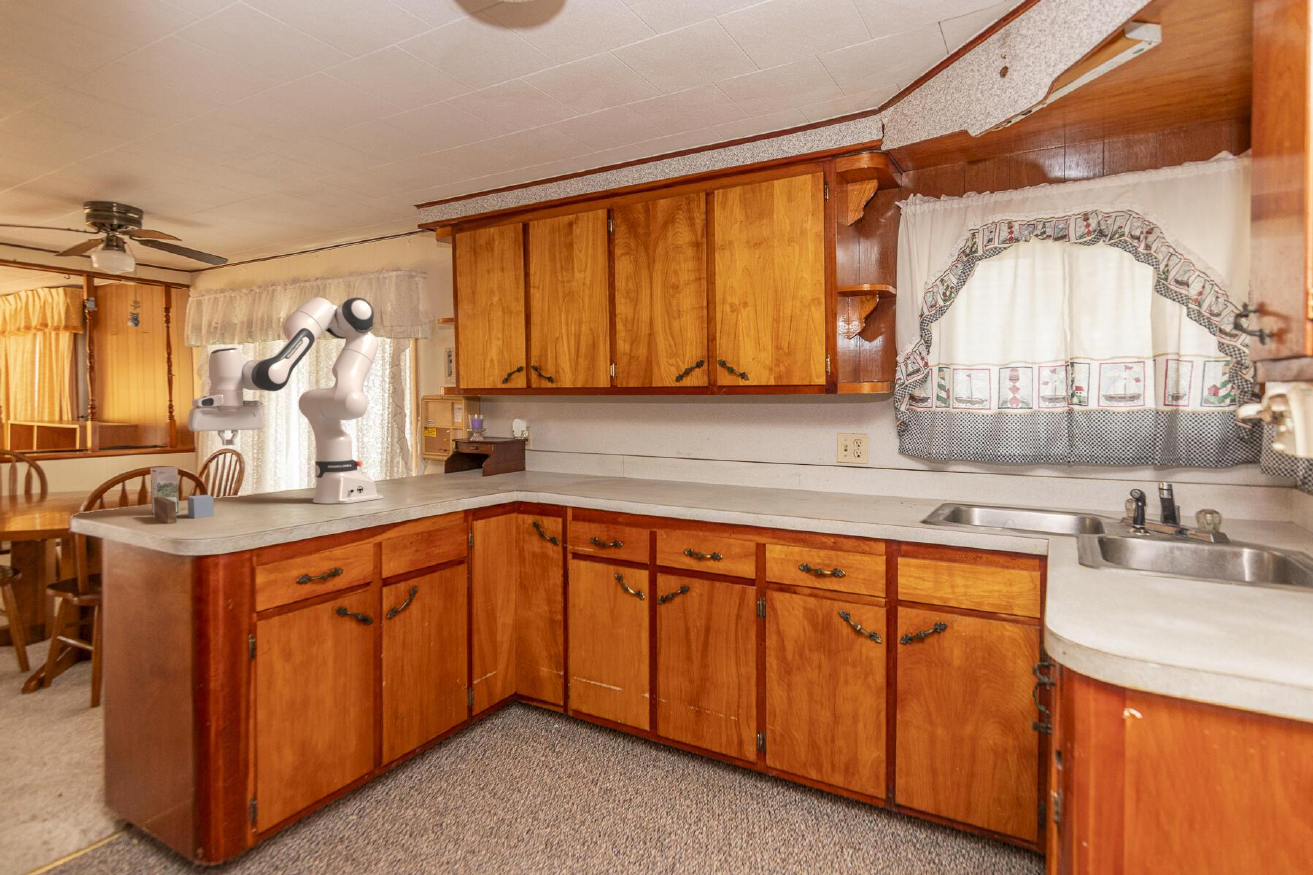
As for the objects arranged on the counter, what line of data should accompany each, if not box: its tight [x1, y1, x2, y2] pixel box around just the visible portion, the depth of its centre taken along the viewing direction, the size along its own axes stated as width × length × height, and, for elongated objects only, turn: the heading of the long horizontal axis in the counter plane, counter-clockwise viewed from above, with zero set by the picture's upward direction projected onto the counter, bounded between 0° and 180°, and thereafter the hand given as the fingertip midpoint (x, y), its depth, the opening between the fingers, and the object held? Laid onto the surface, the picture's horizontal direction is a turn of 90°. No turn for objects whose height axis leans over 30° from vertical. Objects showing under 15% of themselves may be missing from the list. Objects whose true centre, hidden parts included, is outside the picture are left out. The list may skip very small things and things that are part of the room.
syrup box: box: [150, 465, 180, 515], centre depth 212 cm, size 6×6×14 cm
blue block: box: [187, 494, 215, 519], centre depth 207 cm, size 5×7×6 cm
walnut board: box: [154, 497, 178, 525], centre depth 201 cm, size 2×16×6 cm, turn 47°
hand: (228, 445), depth 212 cm, fingers closed
